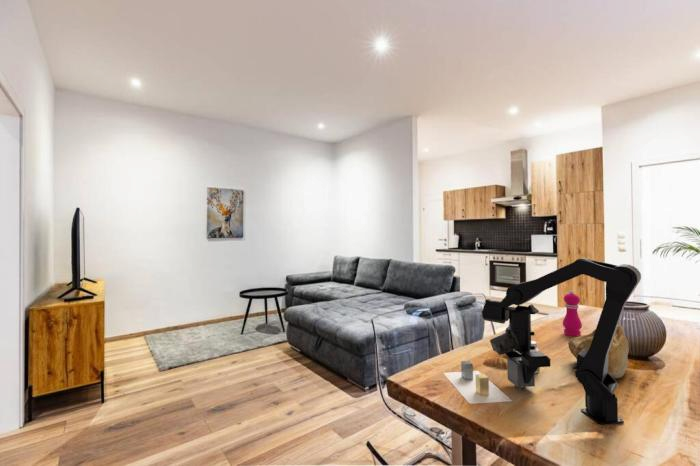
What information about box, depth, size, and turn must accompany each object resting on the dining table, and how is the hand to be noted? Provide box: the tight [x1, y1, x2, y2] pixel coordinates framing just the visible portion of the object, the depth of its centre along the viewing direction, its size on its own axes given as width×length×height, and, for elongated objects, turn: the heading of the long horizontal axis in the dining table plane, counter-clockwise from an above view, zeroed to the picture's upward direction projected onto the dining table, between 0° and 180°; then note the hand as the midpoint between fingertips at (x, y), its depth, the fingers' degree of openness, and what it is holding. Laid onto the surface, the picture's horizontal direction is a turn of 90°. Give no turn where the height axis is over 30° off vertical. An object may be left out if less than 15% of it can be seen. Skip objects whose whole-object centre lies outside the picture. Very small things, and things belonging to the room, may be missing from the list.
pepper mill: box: [562, 289, 583, 337], centre depth 151 cm, size 7×7×20 cm
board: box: [443, 370, 513, 405], centre depth 101 cm, size 20×12×1 cm, turn 5°
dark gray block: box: [506, 357, 536, 388], centre depth 99 cm, size 5×5×7 cm
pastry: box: [483, 357, 508, 370], centre depth 116 cm, size 9×7×4 cm
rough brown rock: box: [567, 324, 630, 380], centre depth 115 cm, size 23×17×15 cm
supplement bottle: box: [530, 339, 541, 374], centre depth 114 cm, size 5×5×10 cm
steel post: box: [460, 360, 474, 380], centre depth 106 cm, size 3×3×5 cm
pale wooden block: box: [476, 373, 490, 396], centre depth 96 cm, size 3×3×5 cm
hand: (520, 379), depth 99 cm, fingers closed on dark gray block, 5 cm apart
